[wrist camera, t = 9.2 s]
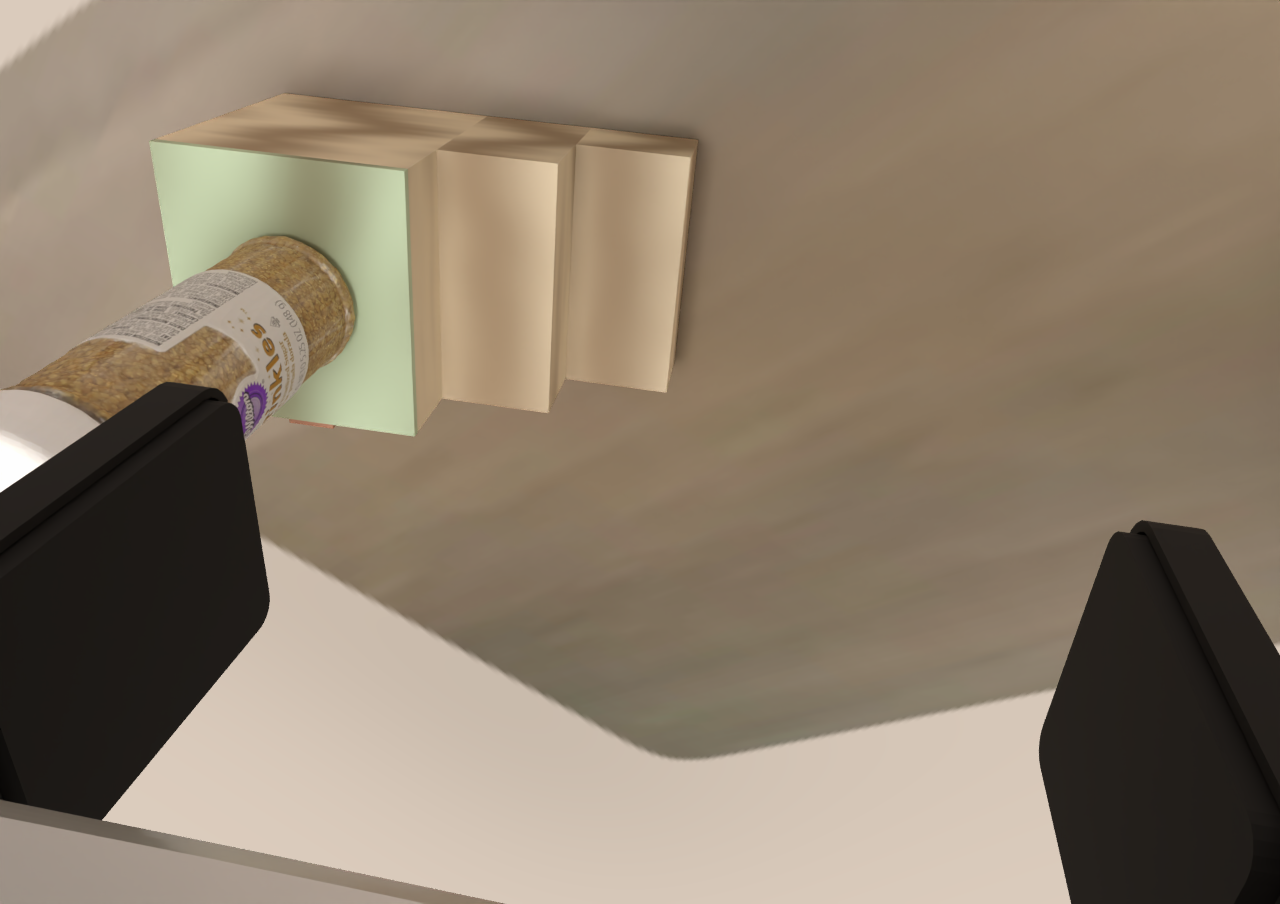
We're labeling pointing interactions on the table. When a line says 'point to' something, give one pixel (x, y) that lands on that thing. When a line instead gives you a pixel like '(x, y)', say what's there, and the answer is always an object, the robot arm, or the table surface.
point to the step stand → (447, 247)
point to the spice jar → (190, 350)
